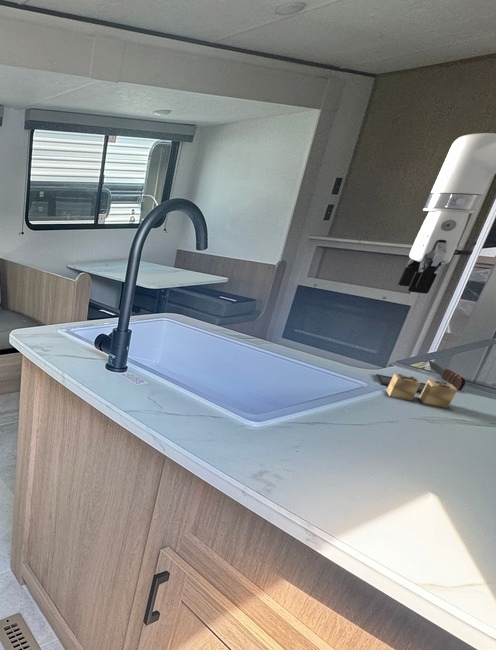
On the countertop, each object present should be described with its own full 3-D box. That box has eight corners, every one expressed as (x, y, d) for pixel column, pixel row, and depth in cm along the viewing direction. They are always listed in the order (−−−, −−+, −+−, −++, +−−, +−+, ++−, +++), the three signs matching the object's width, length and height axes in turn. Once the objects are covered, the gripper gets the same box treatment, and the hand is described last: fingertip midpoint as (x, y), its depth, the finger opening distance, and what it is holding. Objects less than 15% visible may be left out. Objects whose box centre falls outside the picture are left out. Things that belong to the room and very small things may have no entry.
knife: (421, 368, 120) (426, 358, 119) (426, 368, 119) (431, 358, 118) (457, 390, 105) (463, 379, 104) (462, 391, 105) (468, 380, 104)
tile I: (442, 402, 98) (452, 383, 96) (447, 408, 95) (457, 389, 93) (419, 397, 100) (428, 378, 98) (423, 403, 97) (433, 384, 95)
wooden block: (407, 395, 101) (417, 376, 99) (411, 400, 98) (421, 382, 96) (386, 390, 103) (394, 372, 101) (389, 396, 100) (398, 377, 98)
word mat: (431, 386, 107) (432, 384, 107) (440, 396, 101) (441, 395, 101) (375, 375, 113) (376, 373, 112) (380, 384, 106) (381, 383, 106)
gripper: (493, 205, 78) (446, 298, 85) (462, 206, 91) (424, 286, 98) (438, 202, 81) (397, 292, 88) (416, 203, 95) (382, 281, 102)
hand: (411, 289), depth 93 cm, fingers open, 9 cm apart
